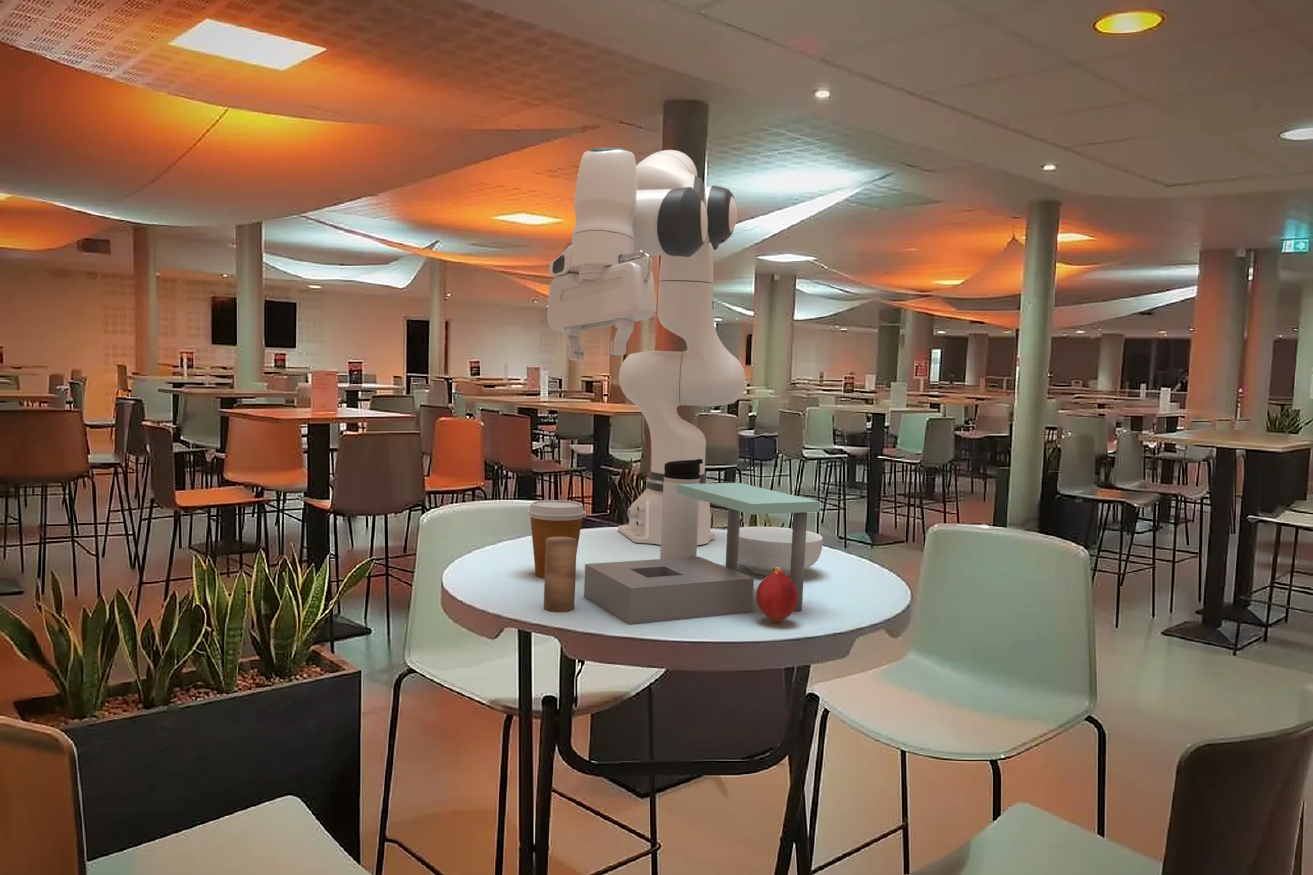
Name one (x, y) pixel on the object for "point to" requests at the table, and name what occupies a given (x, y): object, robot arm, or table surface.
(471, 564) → the table surface
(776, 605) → the onion
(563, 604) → the walnut peg
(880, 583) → the table surface
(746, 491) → the awning
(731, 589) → the socket block
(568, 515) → the disposable coffee cup
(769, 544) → the cereal bowl
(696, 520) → the travel mug
